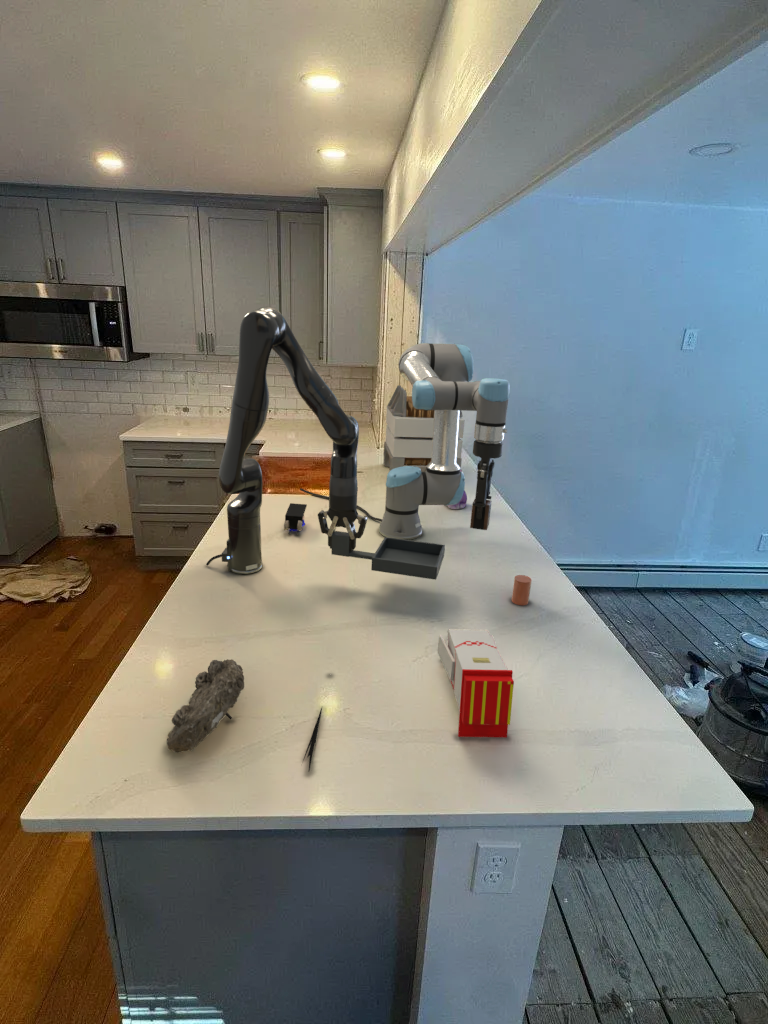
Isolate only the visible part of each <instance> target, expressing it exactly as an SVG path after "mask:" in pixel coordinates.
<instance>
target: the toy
mask: <svg viewBox="0 0 768 1024" xmlns="http://www.w3.org/2000/svg"><path fill="white" fill-rule="evenodd" d="M446 640H447V643H446V641H445V639H444V636H443V635H442V634H439V637H438V646H437V656H438V657H439V659H440V661H441V663H442V666H443V668H444V670H445V672H446V674H447V677H448V679H449V681H450V684H451V687H452V690H453V693H454V697H455V701H456V705H457V708H458V711H459V714H458V715H459V716H458V730H457V731H458V732H457V737H458V738H508V731H509V726H510V725H511V717H512V707H513V697H514V696H513V695H514V684H515V680H514V679H513V673H514V671H513V670H512V669H508V667H507V665H506V662H505V661H504V659H503V658H502V655H501V653H500V651H499V649H498V647H497V643H496V639H495V637H494V635H493V634H491V632H490V631H489V629H467V628H466V629H465V628H463V629H461V628H460V629H459V628H448V630H447V639H446Z"/></svg>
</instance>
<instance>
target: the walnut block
mask: <svg viewBox="0 0 768 1024" xmlns="http://www.w3.org/2000/svg"><path fill="white" fill-rule="evenodd" d="M473 503H475V499H473V501H472V504H471V516H470V525H469V528H470V529H474V528H473V523H474V513H475V506H473ZM485 504H486V510H485V519H484V528H483V530H482V531H487V530H488V528H489V526H490V521H491V519H490V518H491V510H492V499H491V500H490V499H486V503H485Z"/></svg>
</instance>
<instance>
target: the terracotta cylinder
mask: <svg viewBox="0 0 768 1024" xmlns="http://www.w3.org/2000/svg"><path fill="white" fill-rule="evenodd" d="M513 578H514V579H513V587H512V593H511V602H512V603H513V604H515V605H517V606H528V604H529V600H530V594H531V587H532V581H533V580H532V578H531V577H530V576H528V575H524V574H516V575H515V576H514V577H513Z"/></svg>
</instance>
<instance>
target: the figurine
mask: <svg viewBox="0 0 768 1024" xmlns="http://www.w3.org/2000/svg"><path fill="white" fill-rule="evenodd" d="M460 471H461V472H462V473H463V470H462V469H461V470H460ZM467 495H468V494H467V492H466V491H465V490H464V492H463V496H462V498H461V500H460V501H459V502H458V503H457V504H455V505H447V507H448V509H452V510H460V509H464V508H465V507H466V506H467V502H468V496H467Z"/></svg>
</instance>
